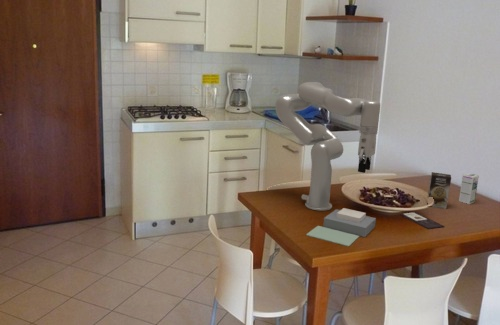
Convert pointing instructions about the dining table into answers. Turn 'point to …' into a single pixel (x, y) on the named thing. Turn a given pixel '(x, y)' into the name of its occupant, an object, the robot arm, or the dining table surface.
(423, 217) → the chocolate bar
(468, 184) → the syrup box
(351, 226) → the block
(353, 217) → the tile
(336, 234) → the mat
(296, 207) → the dining table surface
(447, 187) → the coffee box
